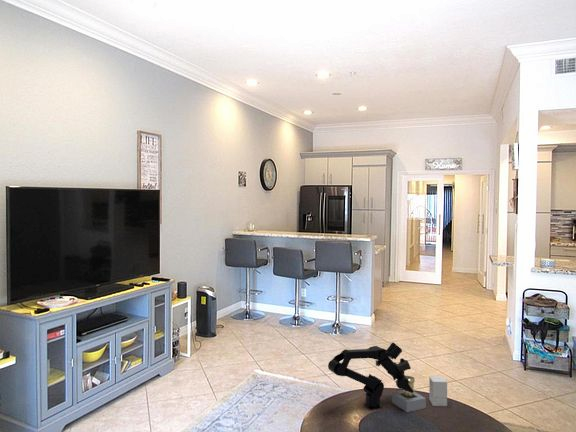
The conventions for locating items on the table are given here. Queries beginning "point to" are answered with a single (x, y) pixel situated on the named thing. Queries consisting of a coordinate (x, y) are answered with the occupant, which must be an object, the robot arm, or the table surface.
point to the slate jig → (409, 401)
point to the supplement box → (438, 391)
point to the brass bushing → (411, 383)
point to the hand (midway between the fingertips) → (411, 388)
